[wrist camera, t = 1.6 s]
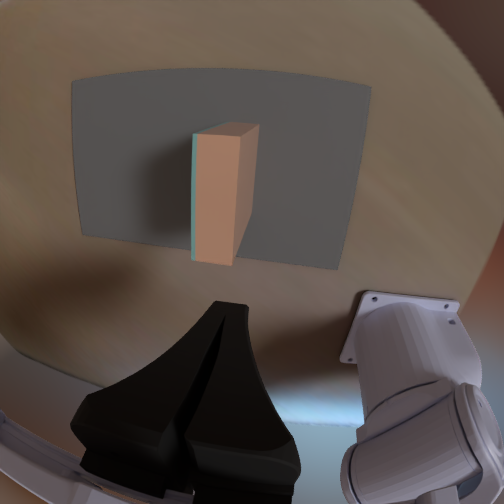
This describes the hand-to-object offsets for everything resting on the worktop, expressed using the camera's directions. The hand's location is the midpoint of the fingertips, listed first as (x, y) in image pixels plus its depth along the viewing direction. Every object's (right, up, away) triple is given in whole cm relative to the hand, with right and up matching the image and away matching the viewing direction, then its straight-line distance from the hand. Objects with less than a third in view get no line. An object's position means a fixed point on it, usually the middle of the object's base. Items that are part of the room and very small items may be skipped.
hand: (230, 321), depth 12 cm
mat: (-3, +9, +8) cm, 12 cm away
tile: (0, +8, +7) cm, 11 cm away
